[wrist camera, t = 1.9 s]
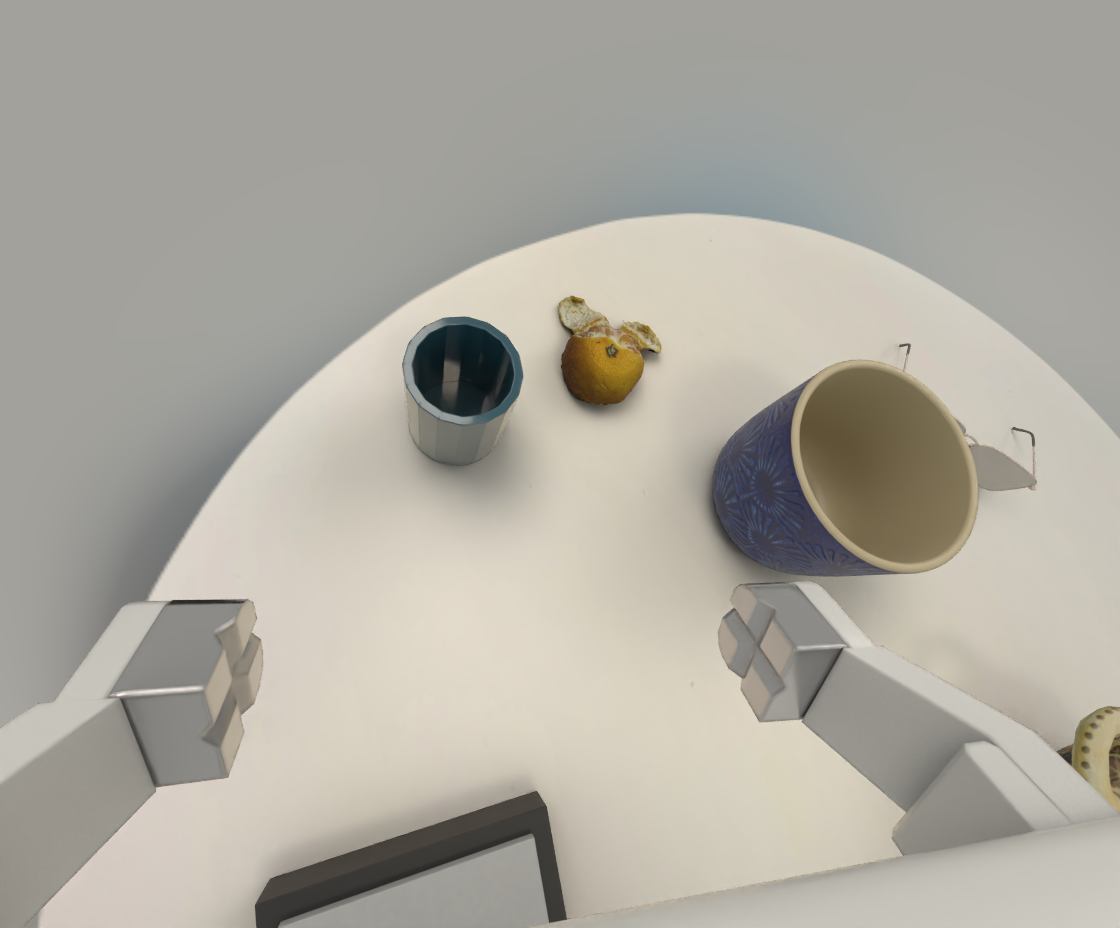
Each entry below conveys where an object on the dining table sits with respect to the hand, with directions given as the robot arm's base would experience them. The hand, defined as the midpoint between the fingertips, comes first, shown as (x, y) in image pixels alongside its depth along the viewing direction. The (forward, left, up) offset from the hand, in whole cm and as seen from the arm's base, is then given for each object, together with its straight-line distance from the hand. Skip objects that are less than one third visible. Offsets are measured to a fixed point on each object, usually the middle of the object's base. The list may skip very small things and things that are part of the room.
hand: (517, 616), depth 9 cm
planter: (+24, +3, -24) cm, 34 cm away
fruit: (+14, +16, -24) cm, 32 cm away
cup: (+2, +12, -24) cm, 27 cm away
